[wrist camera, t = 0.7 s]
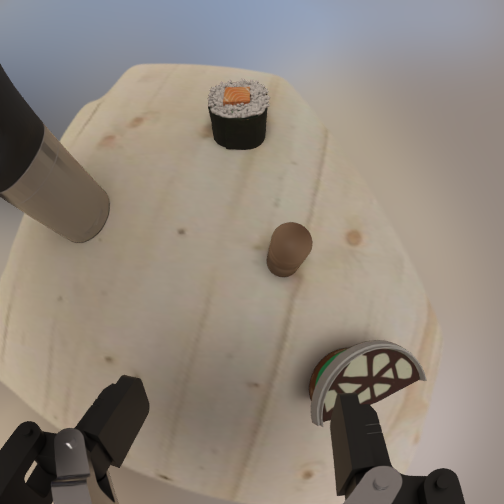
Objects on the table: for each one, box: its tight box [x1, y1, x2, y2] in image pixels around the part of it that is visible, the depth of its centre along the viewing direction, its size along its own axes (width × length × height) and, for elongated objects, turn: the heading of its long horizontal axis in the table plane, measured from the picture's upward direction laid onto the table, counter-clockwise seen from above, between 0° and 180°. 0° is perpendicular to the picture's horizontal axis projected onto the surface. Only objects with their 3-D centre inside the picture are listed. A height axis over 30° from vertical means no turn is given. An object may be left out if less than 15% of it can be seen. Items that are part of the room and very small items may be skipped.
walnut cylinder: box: [267, 222, 312, 277], centre depth 31 cm, size 4×4×8 cm
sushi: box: [208, 79, 270, 150], centre depth 36 cm, size 8×8×8 cm
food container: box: [309, 340, 427, 427], centre depth 26 cm, size 12×6×10 cm, turn 105°
